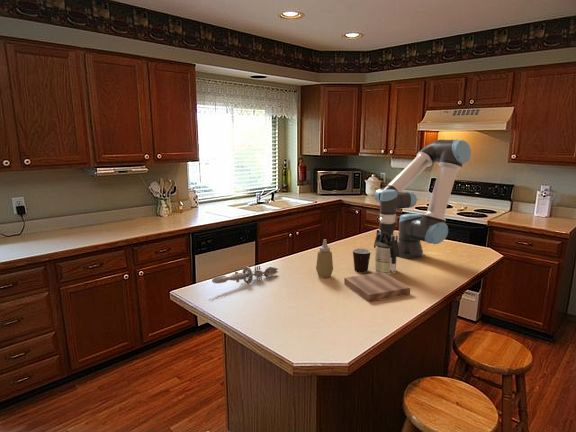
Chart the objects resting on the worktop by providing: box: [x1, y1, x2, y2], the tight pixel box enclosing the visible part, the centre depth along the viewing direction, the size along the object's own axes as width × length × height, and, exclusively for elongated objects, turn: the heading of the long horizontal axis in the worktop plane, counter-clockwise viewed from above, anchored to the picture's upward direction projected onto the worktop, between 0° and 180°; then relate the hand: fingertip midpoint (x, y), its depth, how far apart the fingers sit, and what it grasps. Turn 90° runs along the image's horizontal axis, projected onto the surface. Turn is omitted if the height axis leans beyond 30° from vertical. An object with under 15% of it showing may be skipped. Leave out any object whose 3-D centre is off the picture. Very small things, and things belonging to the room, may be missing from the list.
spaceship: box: [211, 265, 279, 285], centre depth 170 cm, size 8×35×8 cm
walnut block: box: [343, 272, 411, 303], centre depth 163 cm, size 20×20×3 cm
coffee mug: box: [352, 247, 372, 274], centre depth 184 cm, size 12×9×10 cm
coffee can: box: [374, 241, 397, 275], centre depth 184 cm, size 10×10×14 cm
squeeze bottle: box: [315, 239, 334, 279], centre depth 177 cm, size 8×8×18 cm
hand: (385, 266), depth 185 cm, fingers open, 10 cm apart
